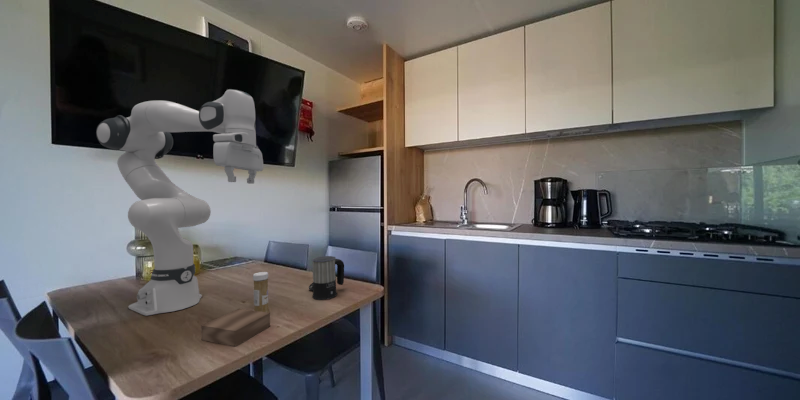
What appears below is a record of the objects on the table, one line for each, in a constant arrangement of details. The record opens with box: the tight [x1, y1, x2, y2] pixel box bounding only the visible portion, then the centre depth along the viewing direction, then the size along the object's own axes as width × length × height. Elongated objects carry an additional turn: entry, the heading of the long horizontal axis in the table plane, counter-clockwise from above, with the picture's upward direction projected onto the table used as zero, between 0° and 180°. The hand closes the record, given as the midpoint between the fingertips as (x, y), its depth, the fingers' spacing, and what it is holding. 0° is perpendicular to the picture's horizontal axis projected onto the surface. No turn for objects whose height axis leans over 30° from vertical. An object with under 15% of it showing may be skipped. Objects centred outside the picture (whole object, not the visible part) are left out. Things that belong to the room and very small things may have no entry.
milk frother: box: [308, 255, 345, 301], centre depth 114 cm, size 14×16×15 cm
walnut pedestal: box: [200, 308, 271, 347], centre depth 81 cm, size 12×12×4 cm
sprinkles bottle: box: [252, 271, 270, 313], centre depth 94 cm, size 5×5×14 cm
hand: (241, 182), depth 93 cm, fingers open, 8 cm apart
